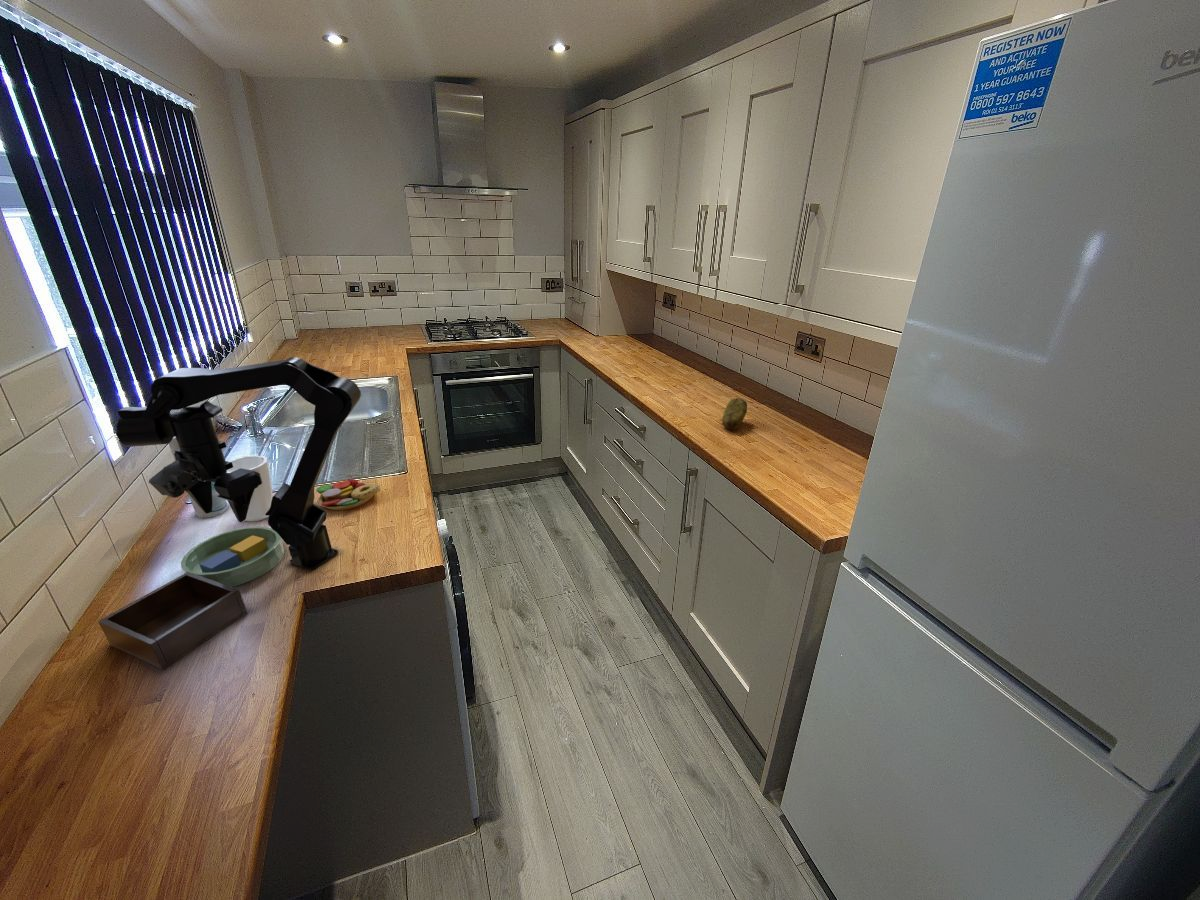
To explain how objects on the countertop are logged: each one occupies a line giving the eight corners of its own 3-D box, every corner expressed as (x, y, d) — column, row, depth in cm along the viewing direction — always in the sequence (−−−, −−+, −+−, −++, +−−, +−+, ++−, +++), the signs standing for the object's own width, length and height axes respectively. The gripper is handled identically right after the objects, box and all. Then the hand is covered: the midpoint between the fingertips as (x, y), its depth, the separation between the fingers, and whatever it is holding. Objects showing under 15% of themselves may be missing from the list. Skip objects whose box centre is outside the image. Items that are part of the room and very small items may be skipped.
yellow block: (256, 544, 109) (252, 535, 108) (268, 548, 108) (264, 538, 107) (232, 558, 105) (229, 547, 104) (244, 561, 104) (241, 551, 103)
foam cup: (240, 509, 124) (223, 459, 119) (284, 501, 128) (269, 452, 122) (232, 528, 116) (213, 476, 111) (279, 519, 120) (263, 468, 114)
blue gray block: (228, 560, 105) (225, 550, 104) (241, 564, 103) (237, 554, 102) (203, 574, 100) (199, 564, 99) (215, 579, 99) (211, 568, 98)
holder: (197, 594, 96) (188, 571, 94) (247, 613, 91) (239, 589, 89) (110, 645, 84) (97, 621, 82) (162, 670, 80) (150, 644, 78)
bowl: (248, 534, 114) (244, 520, 113) (302, 550, 108) (298, 535, 107) (167, 578, 100) (161, 563, 99) (224, 598, 95) (218, 583, 93)
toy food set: (387, 498, 128) (384, 486, 127) (332, 519, 119) (329, 507, 118) (362, 481, 137) (359, 470, 135) (309, 500, 128) (305, 489, 126)
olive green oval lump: (711, 427, 168) (713, 404, 165) (731, 417, 177) (733, 394, 173) (735, 433, 163) (737, 409, 160) (753, 422, 172) (756, 399, 168)
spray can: (212, 503, 127) (185, 426, 119) (235, 505, 126) (209, 428, 118) (188, 516, 122) (157, 437, 113) (212, 519, 120) (182, 439, 112)
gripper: (113, 451, 89) (147, 529, 95) (186, 466, 83) (217, 549, 89) (181, 428, 99) (208, 501, 105) (251, 441, 92) (275, 517, 99)
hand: (225, 516), depth 99 cm, fingers open, 9 cm apart
